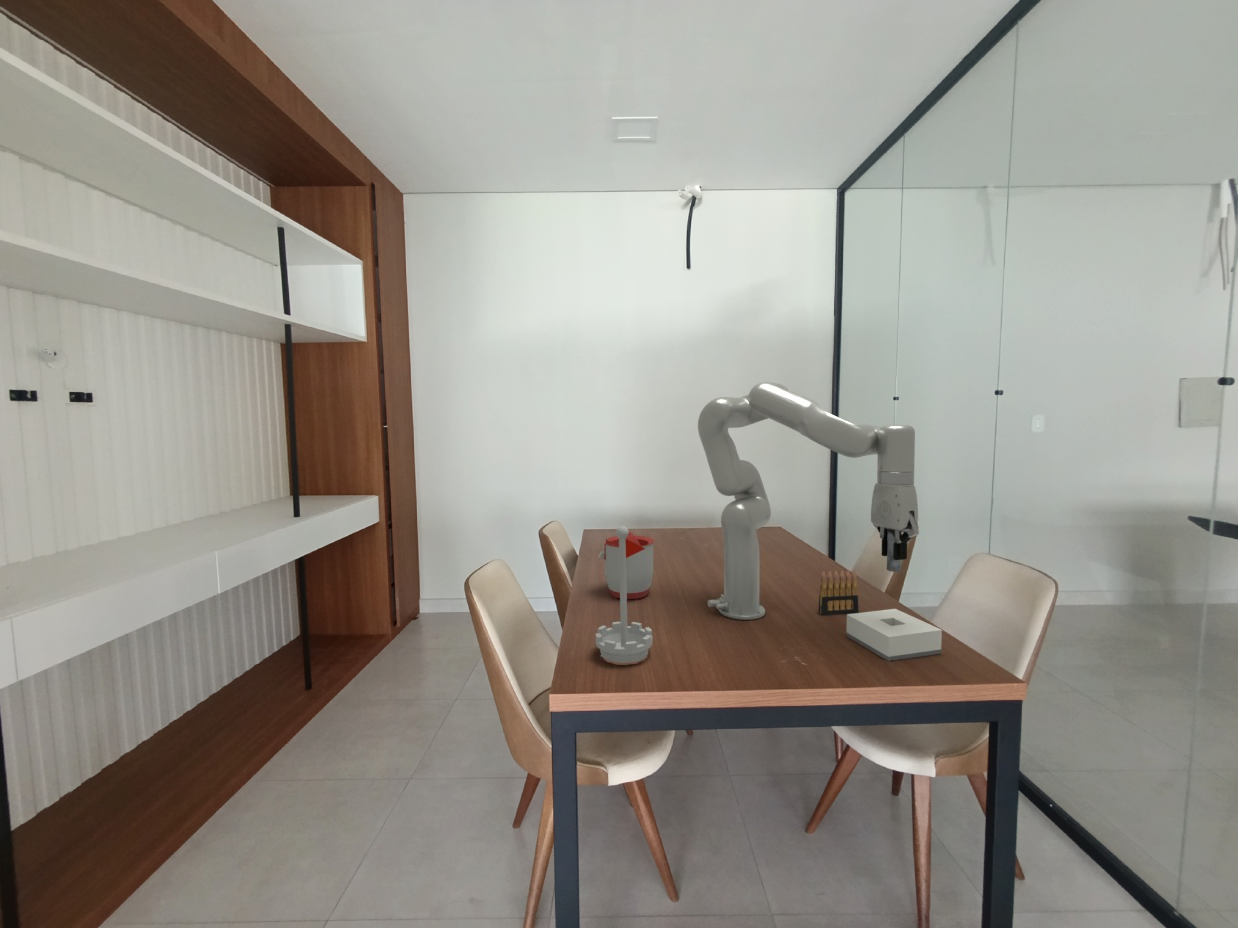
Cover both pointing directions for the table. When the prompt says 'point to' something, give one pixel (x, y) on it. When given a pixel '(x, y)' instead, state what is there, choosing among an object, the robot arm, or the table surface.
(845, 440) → the robot arm
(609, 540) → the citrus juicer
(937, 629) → the socket block
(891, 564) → the pin
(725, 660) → the table surface
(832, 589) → the ammunition clip
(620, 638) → the flag stand
